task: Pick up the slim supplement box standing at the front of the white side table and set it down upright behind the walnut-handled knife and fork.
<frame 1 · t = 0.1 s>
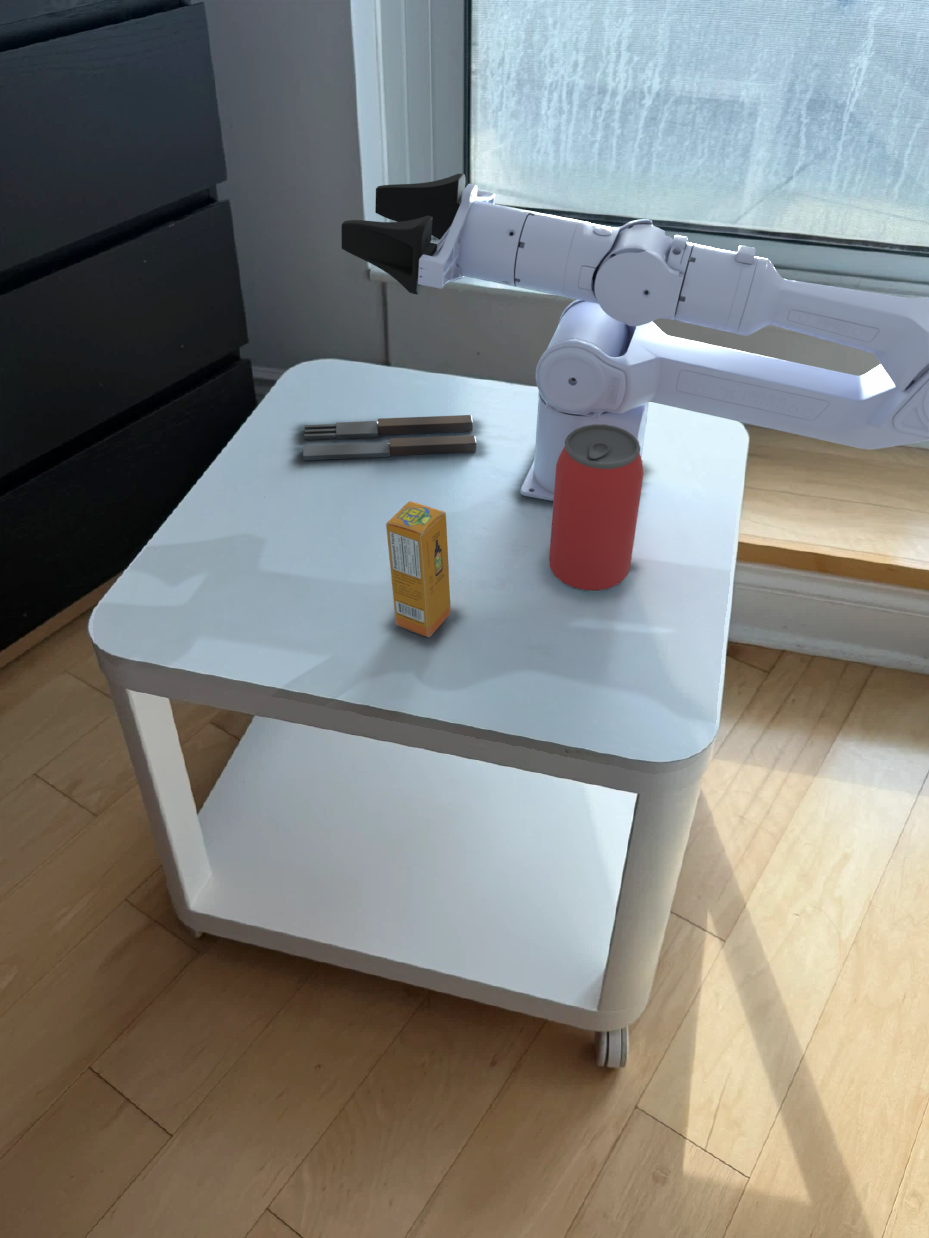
hand: (360, 216, 86), 22 cm above the table, tool horizontal, fingers open, 7 cm apart
beer can: (588, 571, 87), on the table
cutlery: (389, 441, 101), on the table
supplement box: (421, 622, 82), on the table
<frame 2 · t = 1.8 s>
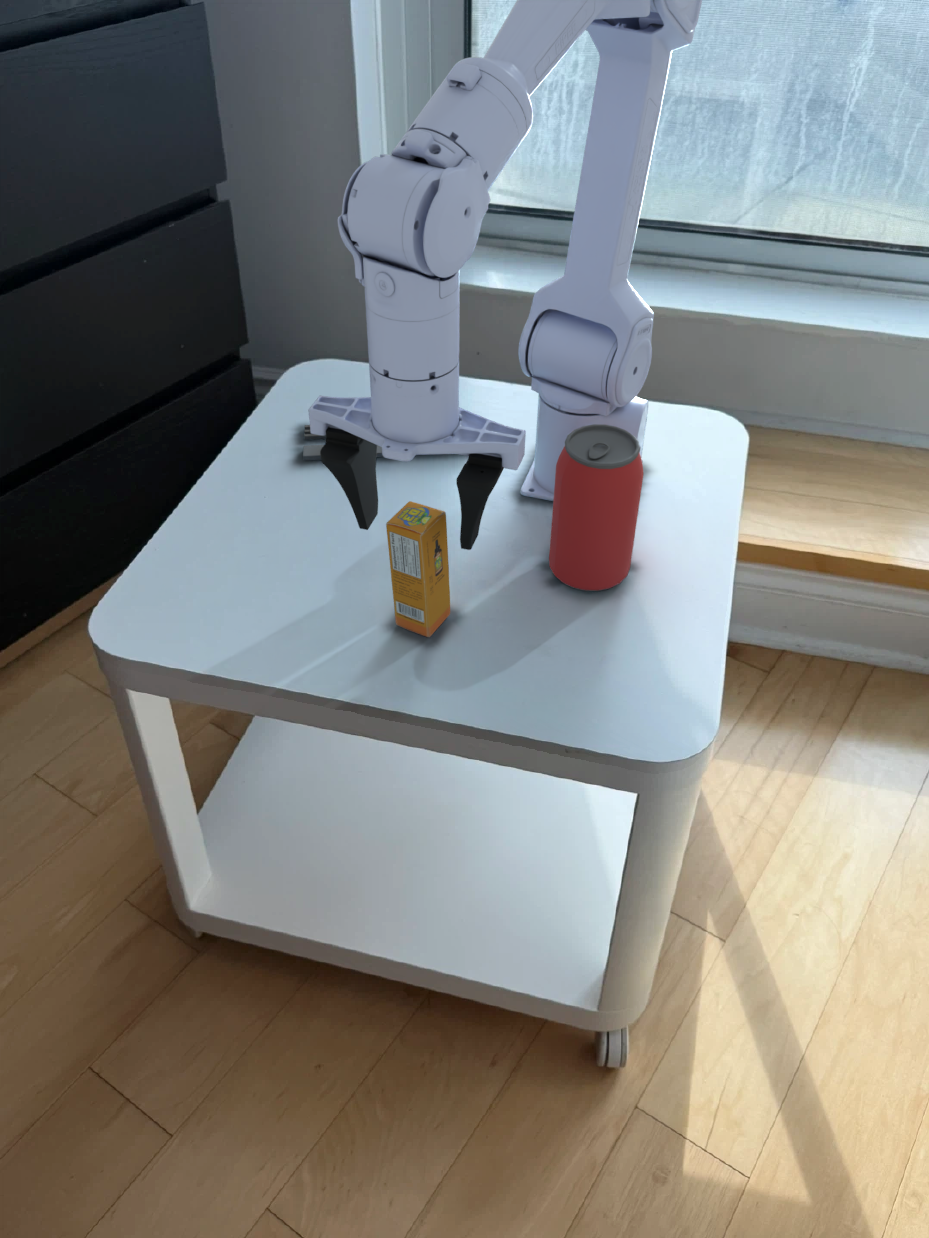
hand: (418, 531, 76), 9 cm above the table, tool pointing down, fingers open, 7 cm apart
nothing on the table moved.
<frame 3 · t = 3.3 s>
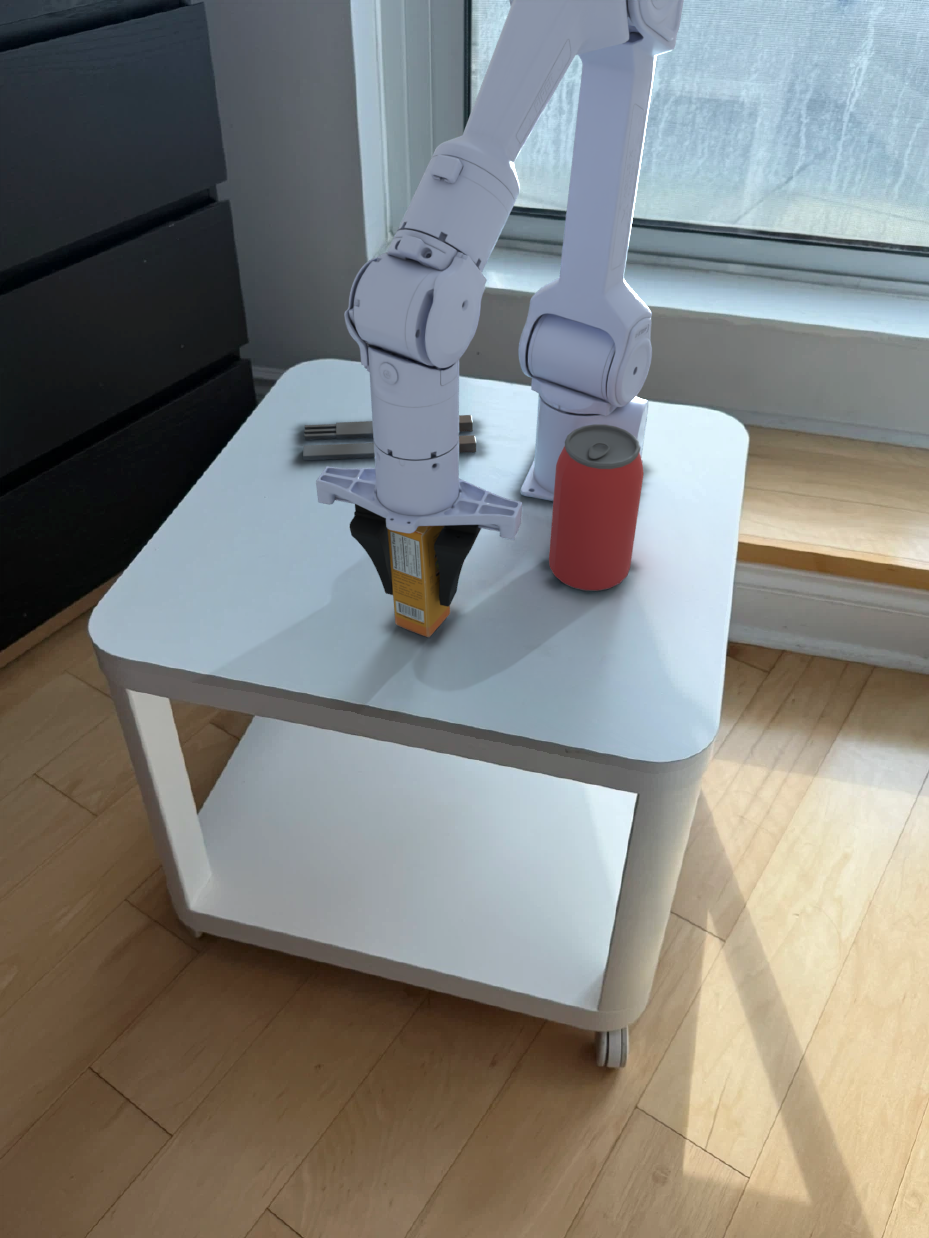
hand: (420, 591, 80), 3 cm above the table, tool pointing down, fingers closed on supplement box, 4 cm apart
supplement box: (420, 622, 82), on the table, touching gripper
everything else where it was.
when the fingers open (3 cm above the table, at t = 8.7 s): supplement box stays where it is, on the table.
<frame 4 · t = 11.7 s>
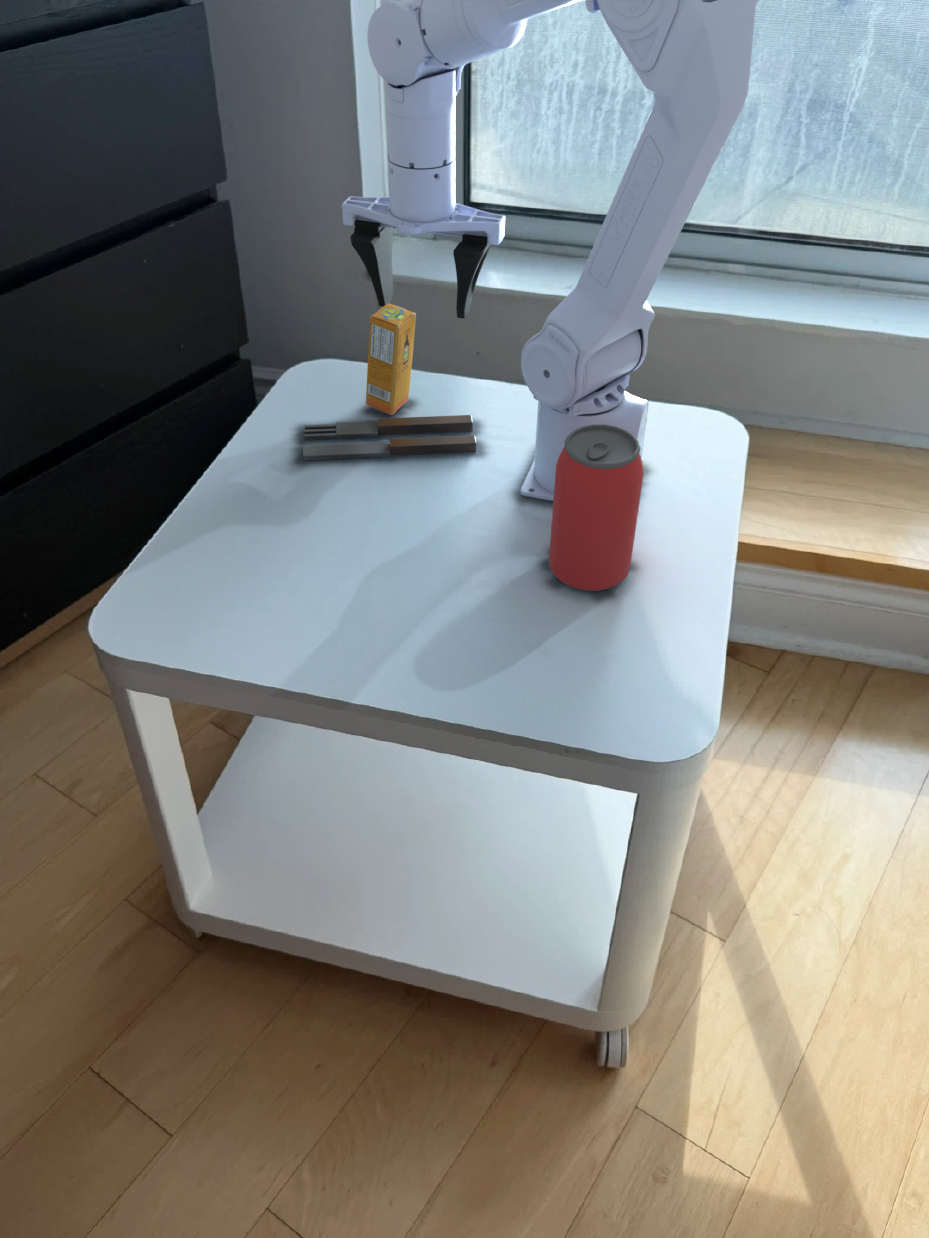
hand: (424, 308, 100), 10 cm above the table, tool pointing down, fingers open, 7 cm apart
supplement box: (385, 405, 106), on the table, touching gripper
everything else where it was.
at the end: supplement box 0.6 cm from the target spot on the table beside the cutlery, on the table; supplement box tilted 9°; the gripper is holding nothing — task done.
